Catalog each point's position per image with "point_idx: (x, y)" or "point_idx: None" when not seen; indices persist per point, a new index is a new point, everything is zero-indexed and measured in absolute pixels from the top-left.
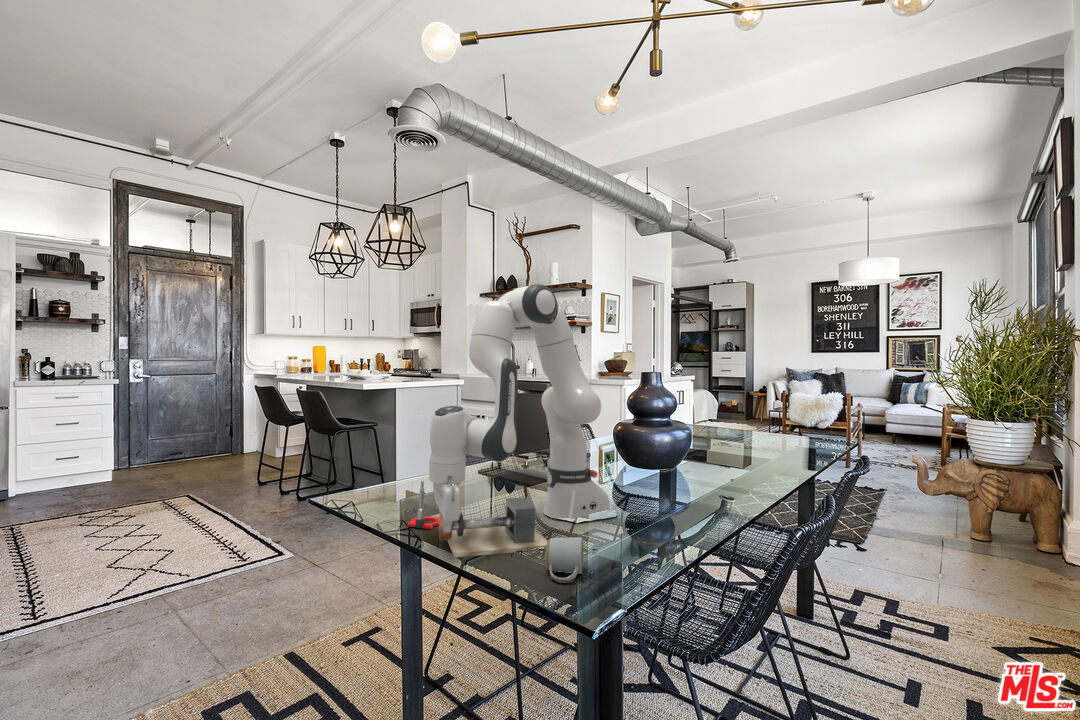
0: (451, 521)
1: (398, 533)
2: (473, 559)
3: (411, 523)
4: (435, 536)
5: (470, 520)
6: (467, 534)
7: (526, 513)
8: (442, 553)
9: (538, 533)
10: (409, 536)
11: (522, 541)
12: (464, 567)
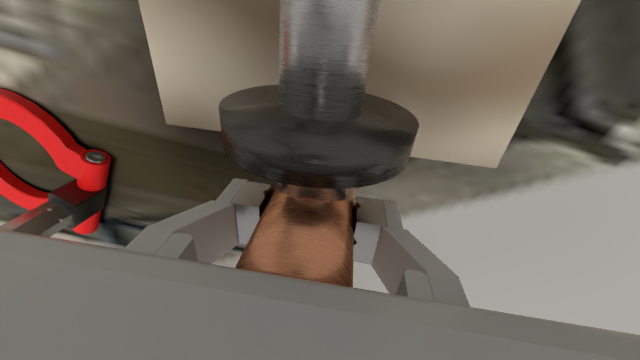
0: (431, 258)
1: None
2: (581, 74)
3: (85, 226)
4: (197, 160)
5: (348, 29)
6: (234, 6)
7: None
8: (408, 187)
9: None
10: None
11: None
12: (636, 150)
